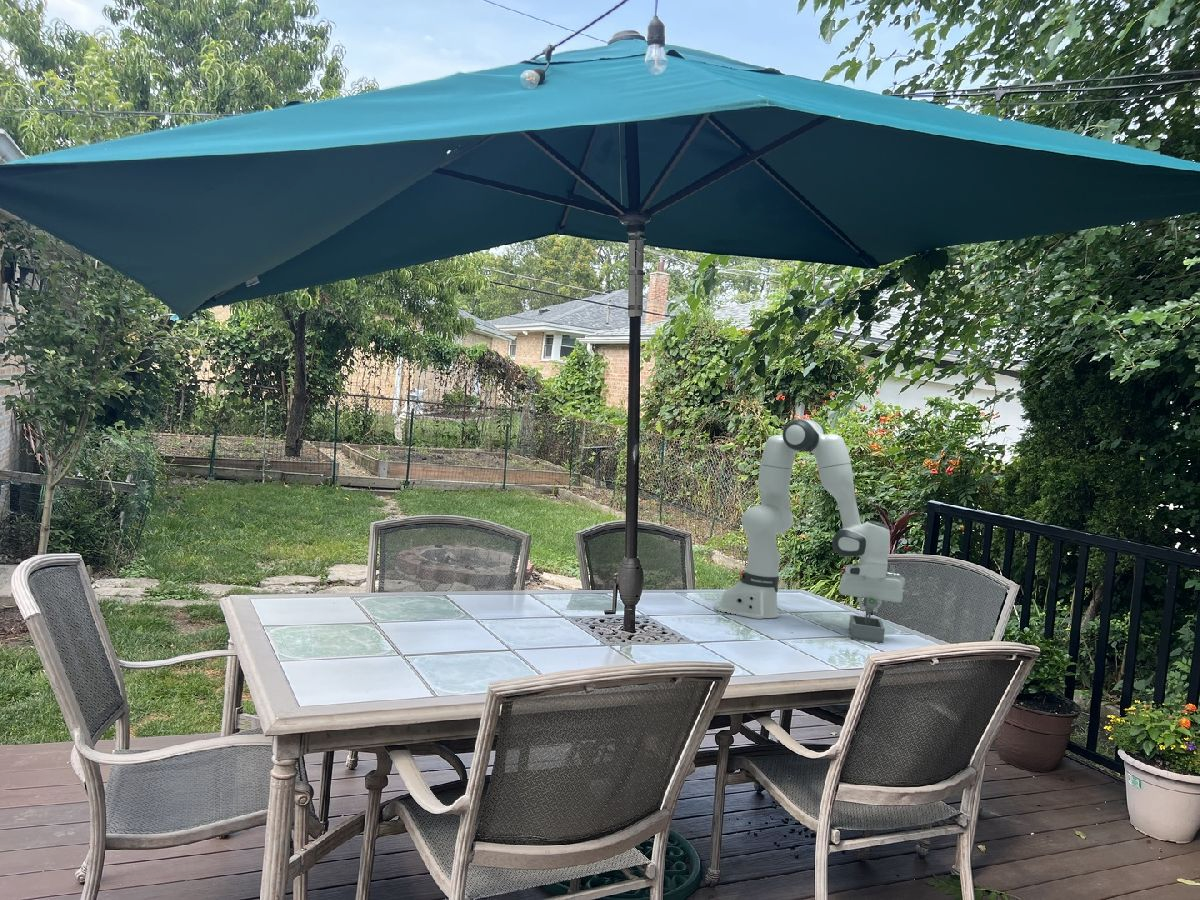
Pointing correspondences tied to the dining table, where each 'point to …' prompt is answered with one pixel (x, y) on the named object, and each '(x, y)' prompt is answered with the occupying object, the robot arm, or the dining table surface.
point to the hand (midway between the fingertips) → (868, 611)
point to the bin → (866, 629)
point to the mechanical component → (869, 608)
